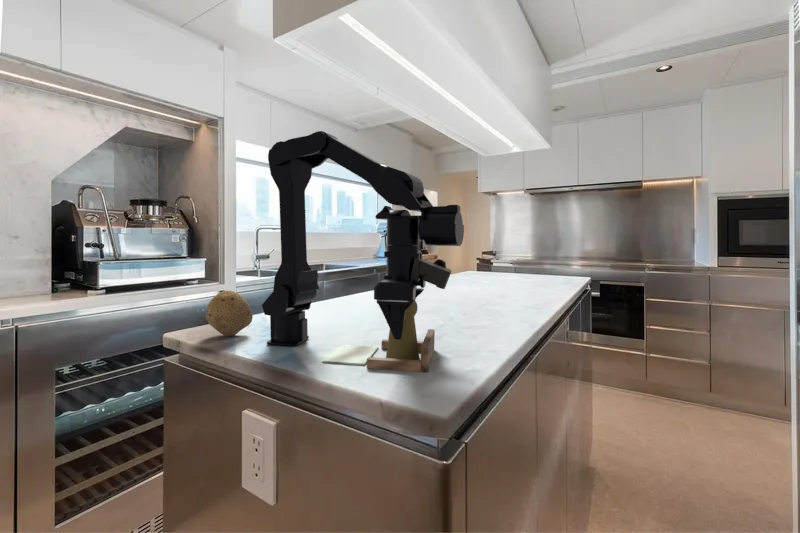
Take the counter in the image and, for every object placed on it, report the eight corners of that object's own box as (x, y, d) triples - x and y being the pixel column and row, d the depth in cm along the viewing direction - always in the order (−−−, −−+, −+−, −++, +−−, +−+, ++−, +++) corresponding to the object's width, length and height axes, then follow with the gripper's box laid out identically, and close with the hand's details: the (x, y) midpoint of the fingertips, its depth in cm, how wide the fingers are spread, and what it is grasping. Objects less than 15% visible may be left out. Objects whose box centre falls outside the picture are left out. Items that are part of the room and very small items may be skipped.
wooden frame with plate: (319, 364, 65) (319, 341, 64) (342, 344, 77) (342, 325, 76) (427, 372, 61) (428, 347, 61) (434, 349, 74) (434, 329, 73)
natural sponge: (196, 337, 82) (195, 291, 81) (233, 328, 89) (232, 286, 88) (222, 343, 77) (221, 294, 76) (259, 334, 85) (258, 289, 84)
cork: (406, 366, 64) (406, 302, 63) (378, 359, 68) (378, 298, 67) (425, 357, 69) (426, 297, 68) (399, 351, 73) (399, 294, 72)
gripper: (446, 247, 56) (444, 350, 58) (451, 244, 75) (449, 323, 76) (373, 246, 58) (373, 346, 59) (395, 244, 77) (395, 320, 78)
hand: (402, 332), depth 68 cm, fingers open, 9 cm apart
